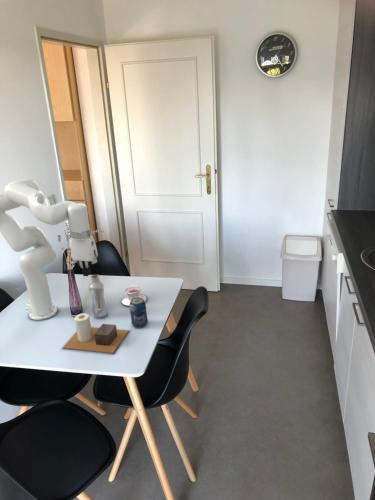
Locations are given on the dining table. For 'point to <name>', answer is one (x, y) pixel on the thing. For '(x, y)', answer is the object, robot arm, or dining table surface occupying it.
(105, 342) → the walnut block
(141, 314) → the soda can
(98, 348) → the cork mat
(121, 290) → the dining table surface
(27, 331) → the dining table surface
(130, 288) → the teacup
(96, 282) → the plastic bottle
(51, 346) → the dining table surface
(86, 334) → the paper roll
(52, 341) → the dining table surface
